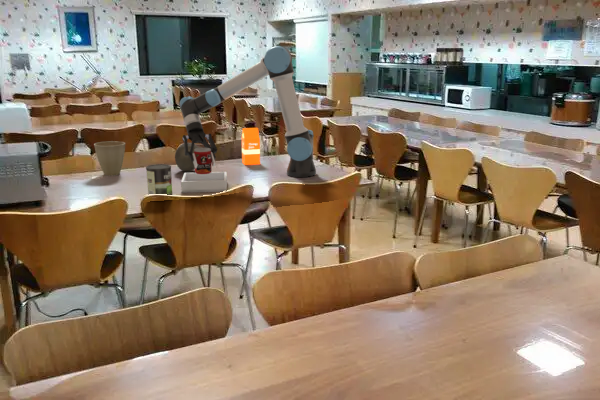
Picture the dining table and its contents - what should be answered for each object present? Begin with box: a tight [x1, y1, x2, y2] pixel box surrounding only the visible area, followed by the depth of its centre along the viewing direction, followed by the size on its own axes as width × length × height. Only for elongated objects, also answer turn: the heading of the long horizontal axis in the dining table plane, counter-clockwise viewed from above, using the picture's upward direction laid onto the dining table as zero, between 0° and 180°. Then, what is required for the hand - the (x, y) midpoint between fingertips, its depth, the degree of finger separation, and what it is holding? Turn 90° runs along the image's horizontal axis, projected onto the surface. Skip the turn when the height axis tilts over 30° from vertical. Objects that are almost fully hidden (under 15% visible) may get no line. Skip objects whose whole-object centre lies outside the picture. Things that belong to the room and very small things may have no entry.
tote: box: [180, 171, 228, 193], centre depth 248 cm, size 20×18×5 cm
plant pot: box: [93, 140, 126, 177], centre depth 271 cm, size 15×15×16 cm
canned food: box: [194, 147, 213, 174], centre depth 246 cm, size 8×8×11 cm
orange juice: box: [241, 127, 261, 166], centre depth 298 cm, size 8×9×20 cm
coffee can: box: [145, 163, 173, 195], centre depth 228 cm, size 10×10×14 cm
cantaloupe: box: [174, 142, 199, 173], centre depth 278 cm, size 14×14×15 cm
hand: (205, 165), depth 243 cm, fingers closed on canned food, 8 cm apart
